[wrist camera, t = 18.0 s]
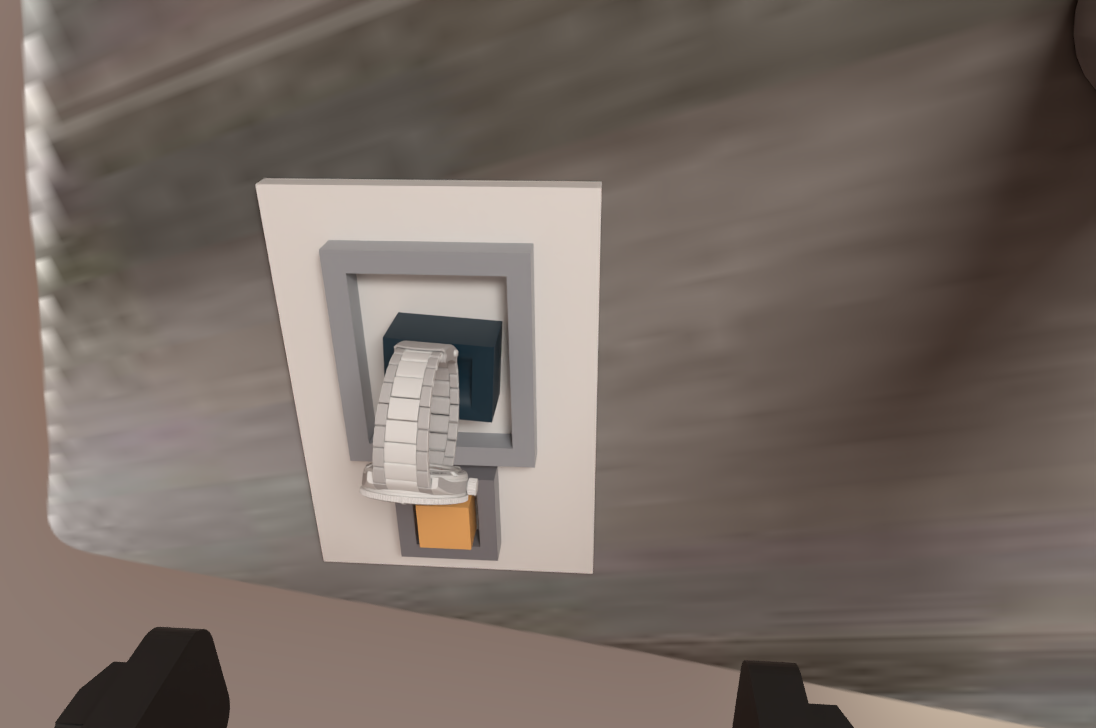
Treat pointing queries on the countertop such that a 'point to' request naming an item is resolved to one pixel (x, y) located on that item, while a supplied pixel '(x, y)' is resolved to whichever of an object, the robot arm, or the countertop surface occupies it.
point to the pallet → (456, 291)
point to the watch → (431, 406)
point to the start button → (447, 525)
